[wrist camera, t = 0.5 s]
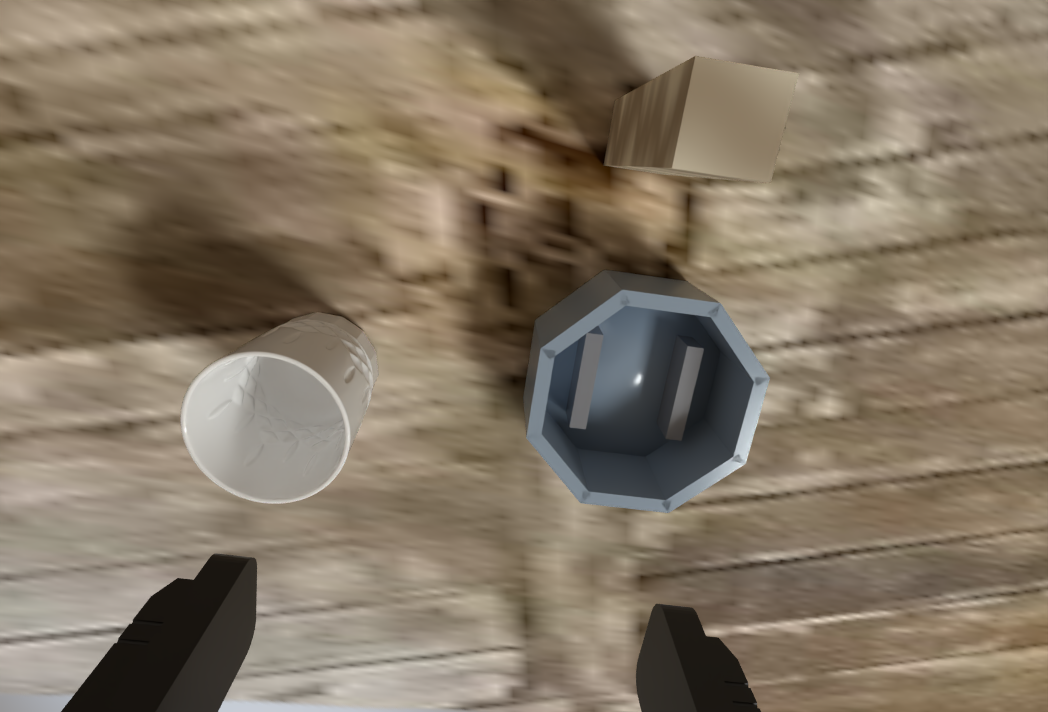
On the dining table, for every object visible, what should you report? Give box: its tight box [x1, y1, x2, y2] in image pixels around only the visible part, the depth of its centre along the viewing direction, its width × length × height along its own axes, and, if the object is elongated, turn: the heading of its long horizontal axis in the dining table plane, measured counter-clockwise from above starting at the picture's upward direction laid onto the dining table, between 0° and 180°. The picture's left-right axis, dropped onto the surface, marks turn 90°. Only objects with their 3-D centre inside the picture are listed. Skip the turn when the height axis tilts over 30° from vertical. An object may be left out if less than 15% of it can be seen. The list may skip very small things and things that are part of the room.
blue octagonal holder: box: [523, 270, 770, 513], centre depth 36 cm, size 13×13×6 cm
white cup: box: [180, 312, 379, 504], centre depth 33 cm, size 8×8×10 cm
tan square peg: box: [604, 56, 799, 183], centre depth 27 cm, size 4×4×15 cm
